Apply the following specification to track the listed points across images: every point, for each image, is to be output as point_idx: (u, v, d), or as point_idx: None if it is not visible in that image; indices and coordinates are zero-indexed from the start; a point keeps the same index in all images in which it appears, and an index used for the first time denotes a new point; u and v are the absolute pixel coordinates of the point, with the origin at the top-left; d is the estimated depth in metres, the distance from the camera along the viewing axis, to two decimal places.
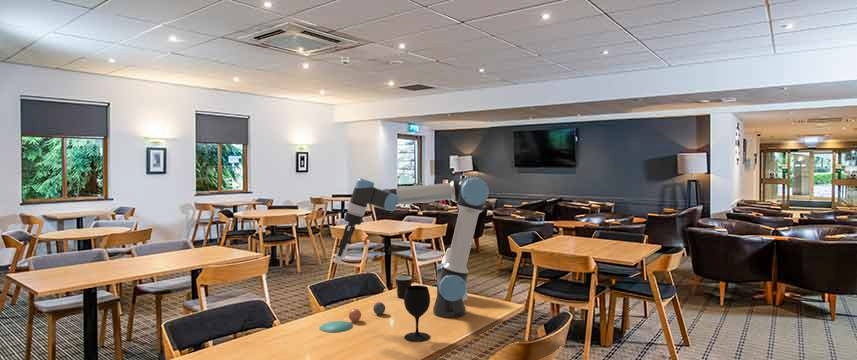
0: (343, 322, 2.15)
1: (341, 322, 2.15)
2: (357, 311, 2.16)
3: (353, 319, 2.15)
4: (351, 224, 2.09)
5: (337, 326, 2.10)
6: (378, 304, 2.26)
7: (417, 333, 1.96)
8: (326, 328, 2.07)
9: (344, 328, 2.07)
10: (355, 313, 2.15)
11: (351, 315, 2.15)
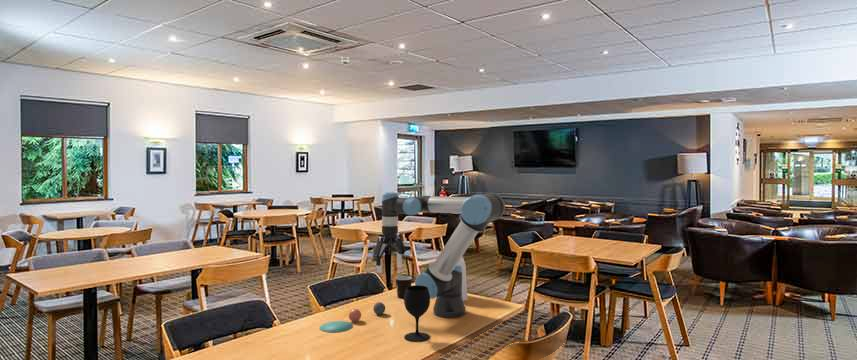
0: (343, 322, 2.15)
1: (341, 322, 2.15)
2: (357, 311, 2.16)
3: (353, 319, 2.15)
4: (384, 235, 2.28)
5: (337, 326, 2.10)
6: (378, 304, 2.26)
7: (417, 333, 1.96)
8: (326, 328, 2.07)
9: (344, 328, 2.07)
10: (355, 313, 2.15)
11: (351, 315, 2.15)
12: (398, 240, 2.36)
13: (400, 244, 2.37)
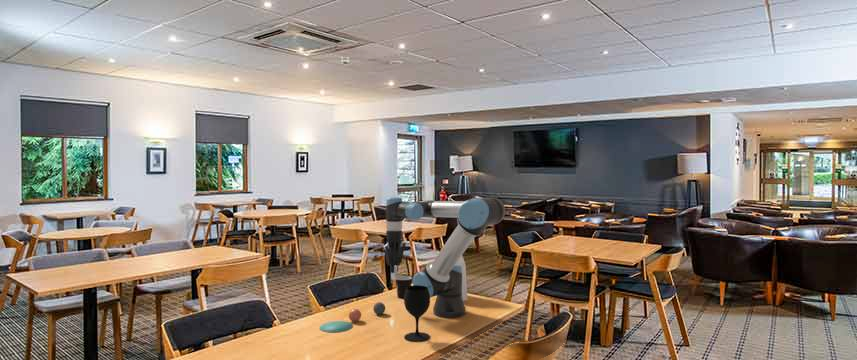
0: (343, 322, 2.15)
1: (341, 322, 2.15)
2: (357, 311, 2.16)
3: (353, 319, 2.15)
4: (388, 239, 2.30)
5: (337, 326, 2.10)
6: (378, 304, 2.26)
7: (417, 333, 1.96)
8: (326, 328, 2.07)
9: (344, 328, 2.07)
10: (355, 313, 2.15)
11: (351, 315, 2.15)
12: (400, 248, 2.36)
13: (400, 253, 2.35)
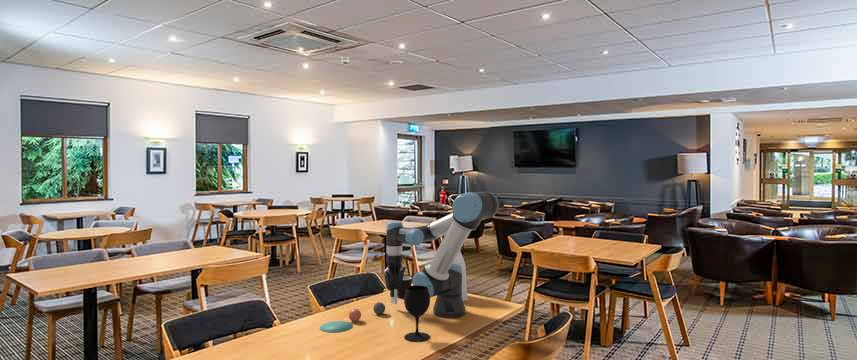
0: (343, 322, 2.15)
1: (341, 322, 2.15)
2: (357, 311, 2.16)
3: (353, 319, 2.15)
4: (388, 264, 2.30)
5: (337, 326, 2.10)
6: (378, 304, 2.26)
7: (417, 333, 1.96)
8: (326, 328, 2.07)
9: (344, 328, 2.07)
10: (355, 313, 2.15)
11: (351, 315, 2.15)
12: (400, 272, 2.36)
13: (400, 277, 2.36)
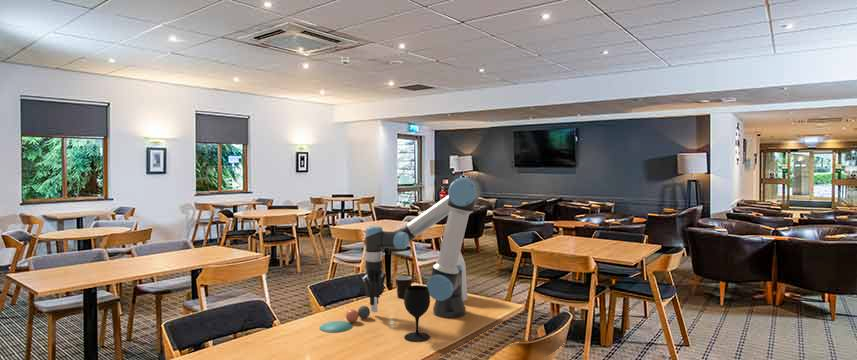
0: (343, 322, 2.15)
1: (341, 322, 2.15)
2: (352, 313, 2.14)
3: (352, 321, 2.14)
4: (368, 271, 2.21)
5: (337, 326, 2.10)
6: (366, 317, 2.21)
7: (417, 333, 1.96)
8: (326, 328, 2.07)
9: (344, 328, 2.07)
10: (351, 316, 2.13)
11: (348, 319, 2.14)
12: (380, 279, 2.27)
13: (380, 284, 2.27)
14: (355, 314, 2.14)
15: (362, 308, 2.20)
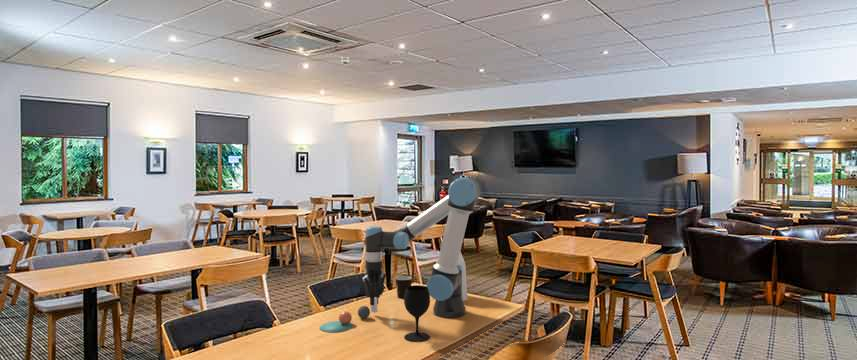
0: None
1: None
2: (344, 321, 2.11)
3: (350, 321, 2.13)
4: (368, 271, 2.21)
5: (337, 326, 2.10)
6: (366, 317, 2.21)
7: (417, 333, 1.96)
8: (326, 328, 2.07)
9: (344, 328, 2.07)
10: (346, 323, 2.11)
11: None
12: (380, 279, 2.27)
13: (380, 284, 2.27)
14: (346, 319, 2.11)
15: (362, 308, 2.20)
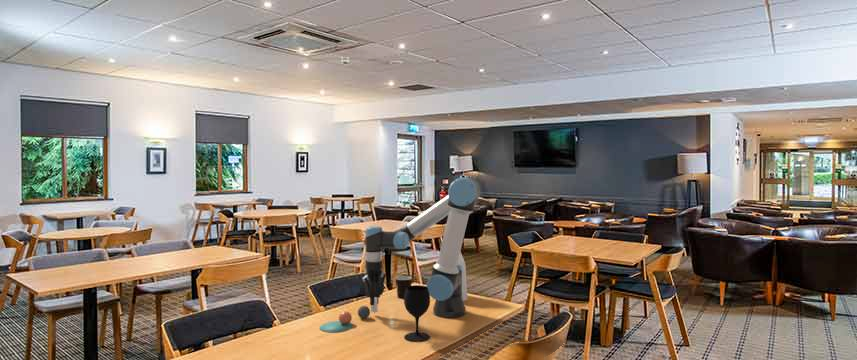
0: None
1: None
2: (344, 321, 2.11)
3: (350, 321, 2.13)
4: (368, 271, 2.21)
5: (337, 326, 2.10)
6: (366, 317, 2.21)
7: (417, 333, 1.96)
8: (326, 328, 2.07)
9: (344, 328, 2.07)
10: (346, 323, 2.11)
11: None
12: (380, 279, 2.27)
13: (380, 284, 2.27)
14: (346, 319, 2.11)
15: (362, 308, 2.20)
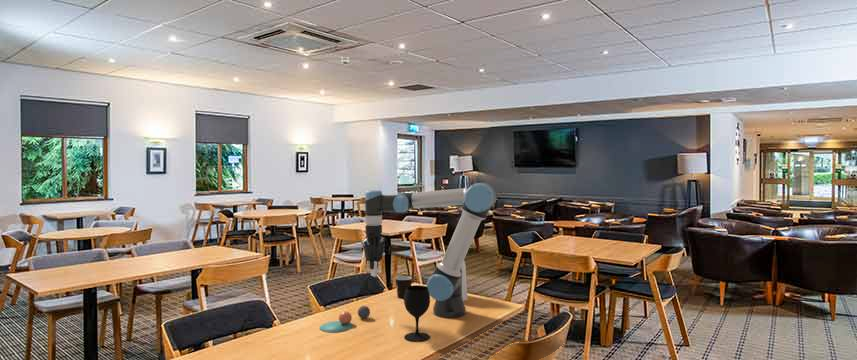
0: None
1: None
2: (344, 321, 2.11)
3: (350, 321, 2.13)
4: (367, 234, 2.21)
5: (337, 326, 2.10)
6: (366, 317, 2.21)
7: (417, 333, 1.96)
8: (326, 328, 2.07)
9: (344, 328, 2.07)
10: (346, 323, 2.11)
11: None
12: (380, 244, 2.27)
13: (380, 249, 2.26)
14: (346, 319, 2.11)
15: (362, 308, 2.20)
